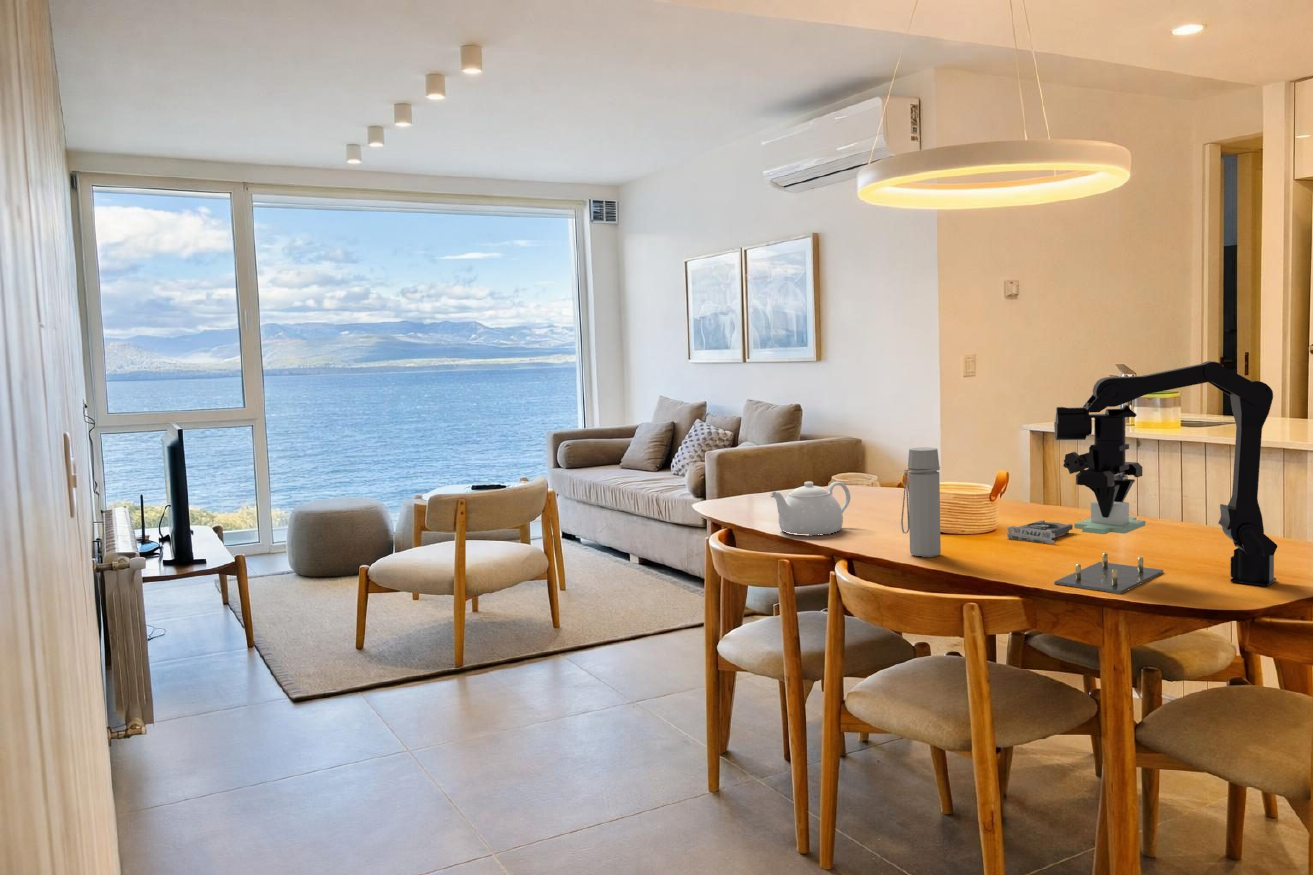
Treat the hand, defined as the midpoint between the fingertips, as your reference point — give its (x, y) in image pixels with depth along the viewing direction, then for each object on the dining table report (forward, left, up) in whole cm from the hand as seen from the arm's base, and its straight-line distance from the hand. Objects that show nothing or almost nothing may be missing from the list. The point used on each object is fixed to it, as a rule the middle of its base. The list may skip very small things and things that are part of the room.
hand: (1109, 515), depth 199 cm
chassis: (0, 0, -13) cm, 13 cm away
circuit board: (0, 0, -2) cm, 2 cm away
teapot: (+82, -8, -13) cm, 83 cm away
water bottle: (+43, +2, -13) cm, 45 cm away
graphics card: (+29, -34, -14) cm, 47 cm away
